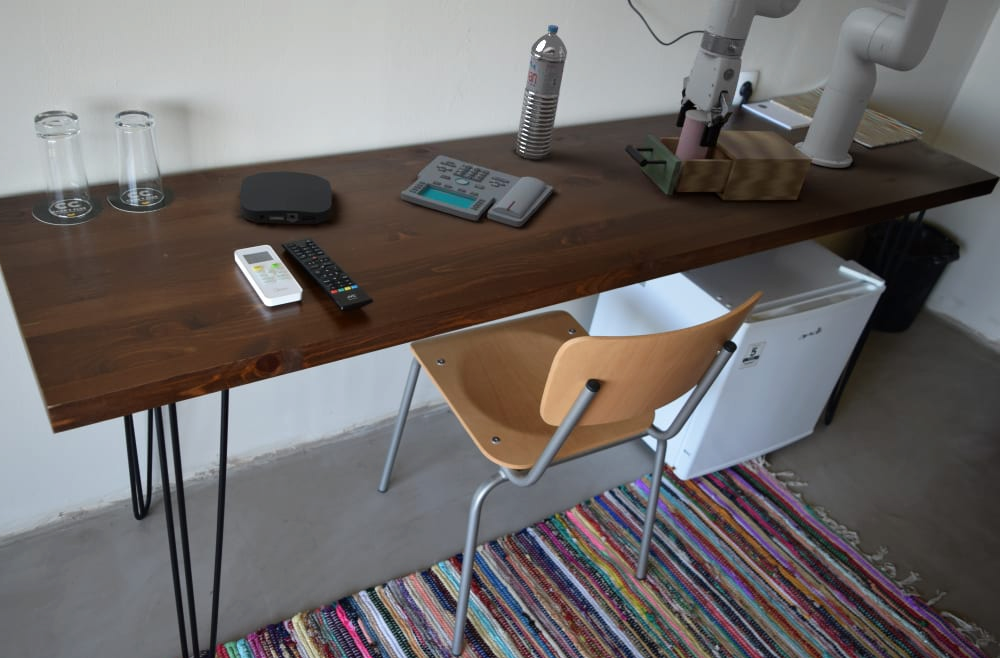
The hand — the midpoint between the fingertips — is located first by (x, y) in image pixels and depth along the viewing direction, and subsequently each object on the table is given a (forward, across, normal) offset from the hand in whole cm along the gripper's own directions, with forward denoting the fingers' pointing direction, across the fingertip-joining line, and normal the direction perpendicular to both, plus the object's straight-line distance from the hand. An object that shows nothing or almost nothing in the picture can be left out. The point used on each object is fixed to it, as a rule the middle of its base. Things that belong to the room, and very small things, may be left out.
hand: (694, 136), depth 154 cm
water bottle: (+10, +15, +27) cm, 32 cm away
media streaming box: (+11, -8, +77) cm, 78 cm away
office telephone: (+11, -4, +43) cm, 45 cm away
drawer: (+9, 0, +1) cm, 9 cm away
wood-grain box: (+10, 0, -14) cm, 17 cm away
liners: (+8, 0, 0) cm, 8 cm away
